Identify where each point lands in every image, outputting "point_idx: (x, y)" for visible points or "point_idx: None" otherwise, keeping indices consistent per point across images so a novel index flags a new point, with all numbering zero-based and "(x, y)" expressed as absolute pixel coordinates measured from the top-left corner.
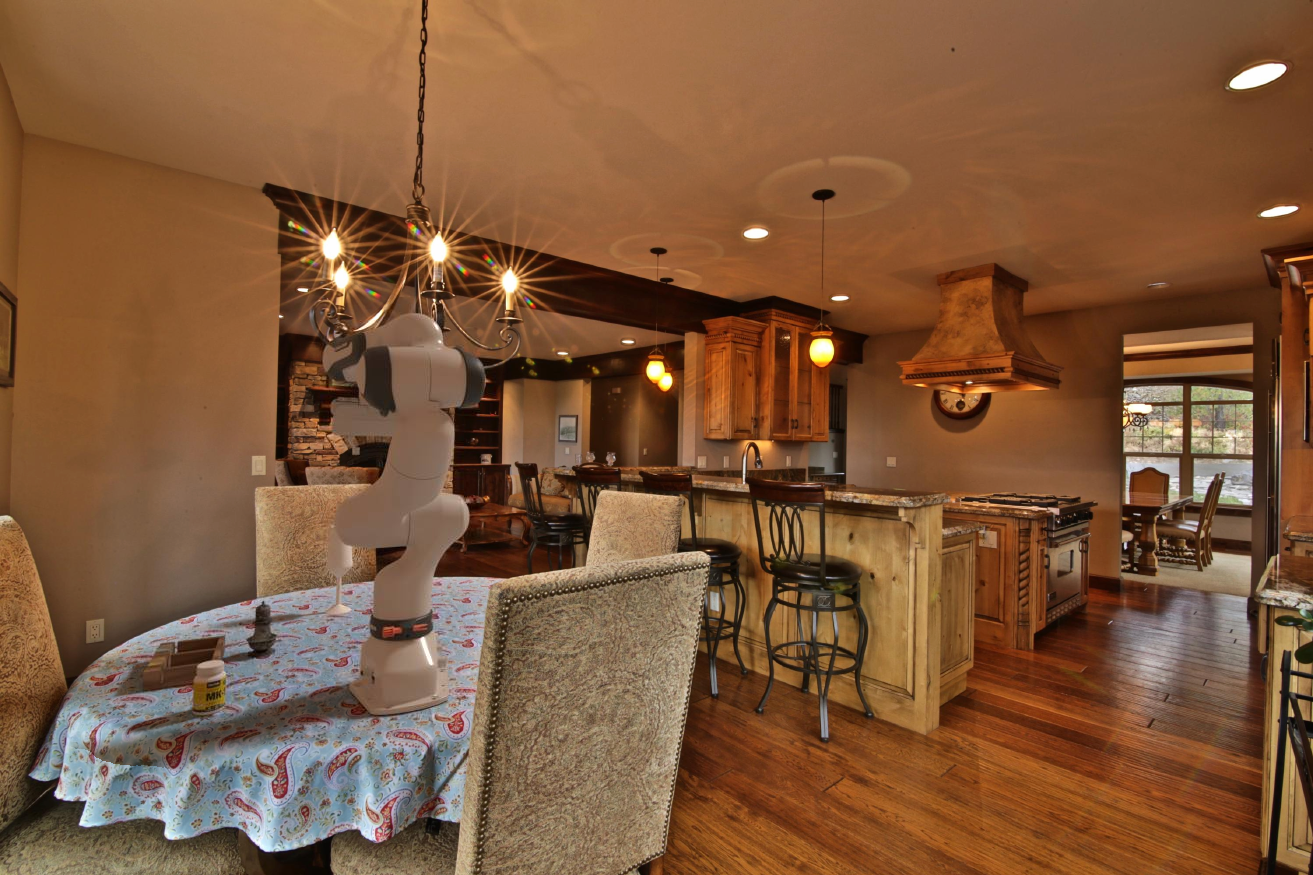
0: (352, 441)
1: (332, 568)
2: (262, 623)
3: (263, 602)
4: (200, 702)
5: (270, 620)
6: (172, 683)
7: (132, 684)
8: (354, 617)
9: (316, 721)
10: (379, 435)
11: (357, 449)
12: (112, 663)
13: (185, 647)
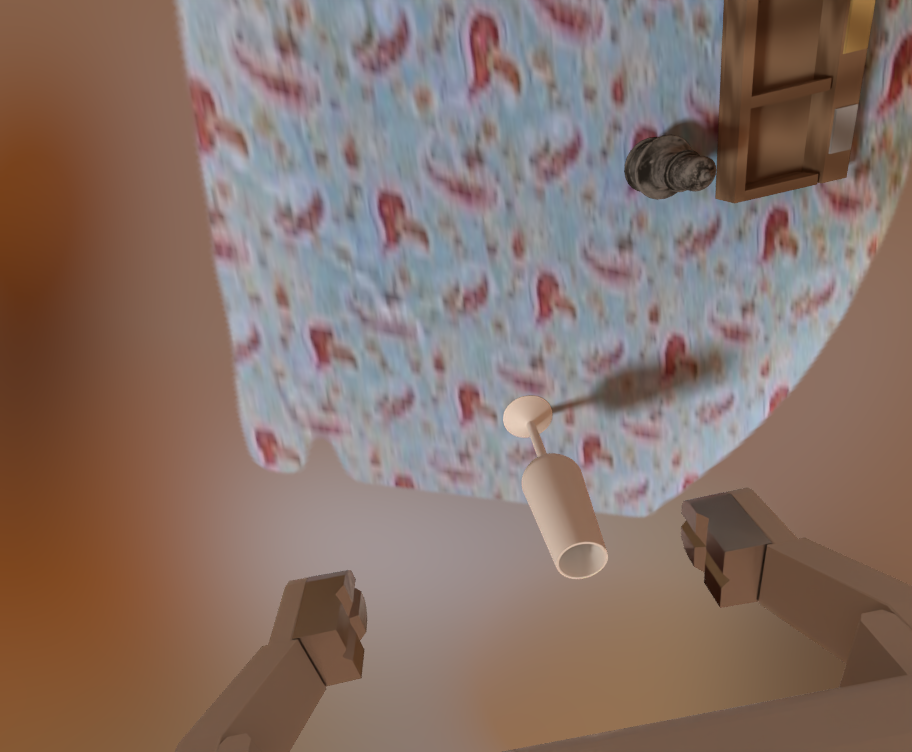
0: (868, 595)
1: (565, 456)
2: (683, 150)
3: (707, 172)
4: None
5: (667, 168)
6: None
7: None
8: (491, 369)
9: None
10: (548, 748)
11: (734, 529)
12: (892, 173)
13: (795, 175)
